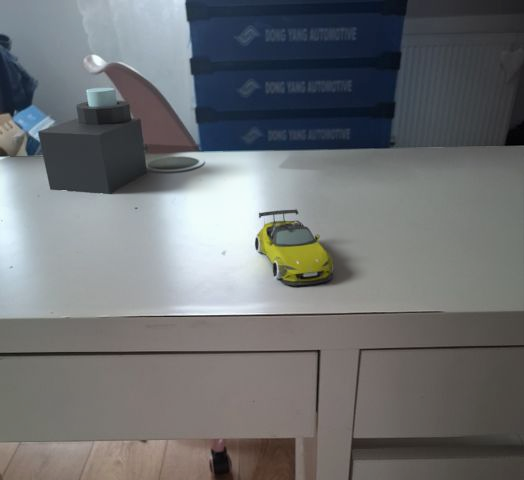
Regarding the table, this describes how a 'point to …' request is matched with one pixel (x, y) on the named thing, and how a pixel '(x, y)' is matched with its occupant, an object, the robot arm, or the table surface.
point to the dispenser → (94, 150)
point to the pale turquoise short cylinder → (101, 97)
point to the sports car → (293, 251)
